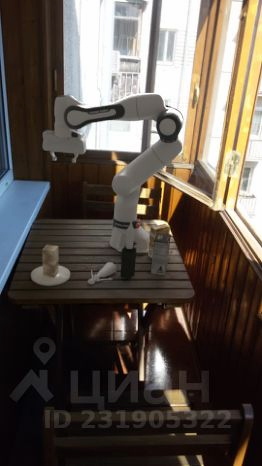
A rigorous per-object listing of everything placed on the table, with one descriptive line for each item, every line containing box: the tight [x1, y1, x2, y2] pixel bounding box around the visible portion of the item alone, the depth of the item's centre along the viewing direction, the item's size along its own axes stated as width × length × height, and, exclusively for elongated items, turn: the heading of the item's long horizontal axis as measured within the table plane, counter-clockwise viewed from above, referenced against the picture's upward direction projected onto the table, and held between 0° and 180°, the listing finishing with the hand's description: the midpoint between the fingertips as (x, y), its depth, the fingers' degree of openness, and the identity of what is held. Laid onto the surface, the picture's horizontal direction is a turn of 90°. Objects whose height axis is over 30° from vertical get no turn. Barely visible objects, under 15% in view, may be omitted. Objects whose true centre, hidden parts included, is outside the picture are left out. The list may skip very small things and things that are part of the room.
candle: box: [119, 222, 137, 280], centre depth 162 cm, size 5×5×25 cm
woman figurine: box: [87, 261, 118, 286], centre depth 164 cm, size 12×4×18 cm
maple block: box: [41, 244, 60, 277], centre depth 160 cm, size 5×5×12 cm
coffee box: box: [150, 233, 172, 276], centre depth 171 cm, size 9×6×16 cm
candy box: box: [147, 223, 171, 259], centre depth 184 cm, size 9×4×15 cm, turn 125°
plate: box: [30, 265, 71, 287], centre depth 162 cm, size 16×16×1 cm
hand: (64, 161), depth 184 cm, fingers open, 8 cm apart
